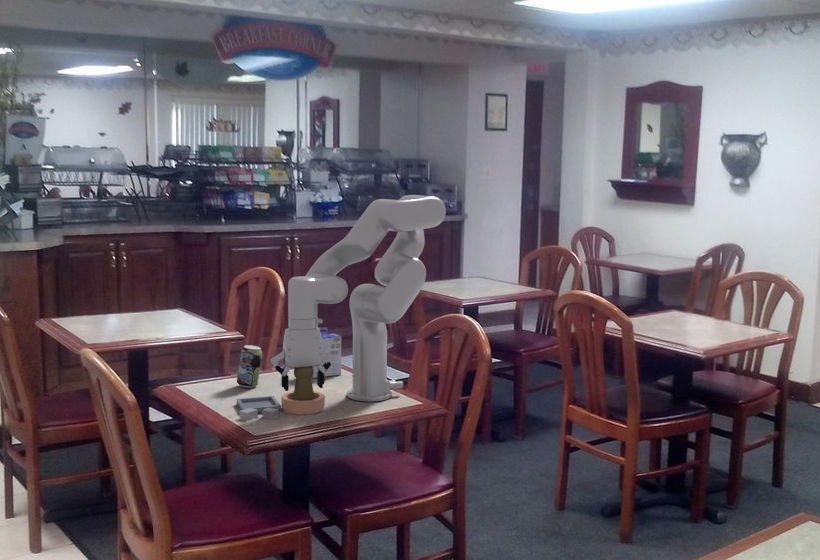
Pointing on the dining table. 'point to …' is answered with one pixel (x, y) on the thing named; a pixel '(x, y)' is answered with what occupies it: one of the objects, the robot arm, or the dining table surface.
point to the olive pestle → (303, 384)
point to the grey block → (270, 413)
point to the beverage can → (249, 366)
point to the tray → (258, 403)
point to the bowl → (303, 404)
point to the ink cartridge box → (332, 346)
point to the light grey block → (248, 414)
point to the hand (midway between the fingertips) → (303, 388)
